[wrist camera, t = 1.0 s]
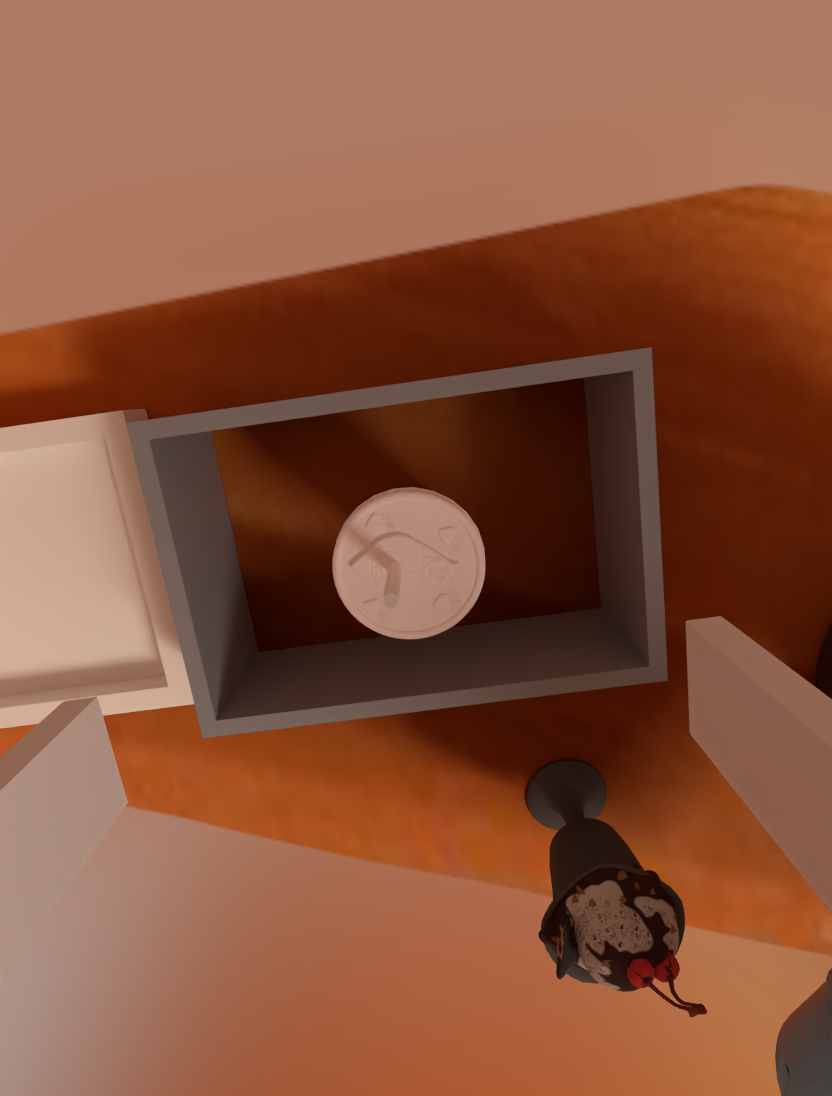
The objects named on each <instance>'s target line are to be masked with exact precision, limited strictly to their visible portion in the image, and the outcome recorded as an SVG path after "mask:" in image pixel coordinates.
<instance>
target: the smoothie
mask: <svg viewBox="0 0 832 1096" xmlns="http://www.w3.org/2000/svg"><path fill="white" fill-rule="evenodd" d="M485 566H486V564H485V550H484V545H483V542H482V539H481V536H480V533H479V530H478V528H477V526H476V525H475V523H474V522H473V521H472V519H471V518H470V516H469V515H468V513H467V512H466V511H465V510H464V509H462V508H461V507H460V506H459V505H458V504H457V503H455V502H454V501H453V500H452V499H450V498H448V497H446V496H444V495H441V494H439V493H437V492H435V491H432V490H427V489H421V488H416V487H407V488H394V489H390V490H388V491H385V492H382V493H379V494H376V495H374V496H372V497H371V498H369V499H368V500H366V501H365V502H364V503H362V504H361V505H359V506H358V507H357V508H356V509H355V510H354V511H353V513H352V514H351V515H350V516H349V517H348V518H347V520H346V521H345V522H344V524H343V527H342V529H341V531H340V533H339V535H338V537H337V540H336V545H335V548H334V554H333V577H334V582H335V586H336V589H337V591H338V594H339V596H340V598H341V600H342V602H343V603H344V605H345V606H346V608H347V609H348V610H349V612H350V613H351V614H352V615H353V616H354V617H355V618H356V619H357V620H358V621H359V622H361V623H362V624H363V625H365V626H366V627H368V628H370V629H371V630H373V631H375V632H377V633H380V634H382V635H385V636H389V637H393V638H398V639H420V638H426V637H430V636H433V635H436V634H439V633H441V632H443V631H445V630H447V629H449V628H451V627H452V626H454V625H455V624H456V623H458V622H459V621H460V620H461V619H462V618H463V617H465V615H466V614H467V613H468V612H469V611H470V610H471V608H472V607H473V606H474V604H475V602H476V601H477V599H478V597H479V594H480V592H481V589H482V586H483V582H484V578H485Z"/></svg>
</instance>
